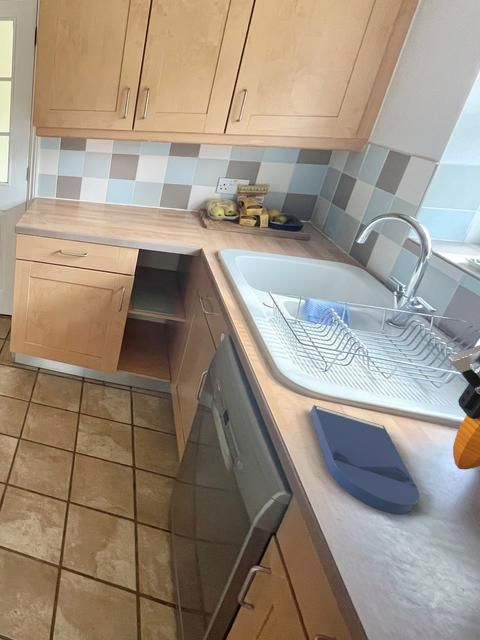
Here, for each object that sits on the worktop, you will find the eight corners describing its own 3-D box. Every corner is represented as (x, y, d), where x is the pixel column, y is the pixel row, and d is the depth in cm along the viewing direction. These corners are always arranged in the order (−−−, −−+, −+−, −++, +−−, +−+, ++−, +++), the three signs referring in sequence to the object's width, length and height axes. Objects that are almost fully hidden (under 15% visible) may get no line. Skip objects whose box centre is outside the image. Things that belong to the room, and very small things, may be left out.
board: (378, 434, 87) (384, 425, 86) (425, 526, 69) (433, 516, 68) (309, 413, 92) (313, 404, 91) (336, 494, 74) (342, 484, 73)
